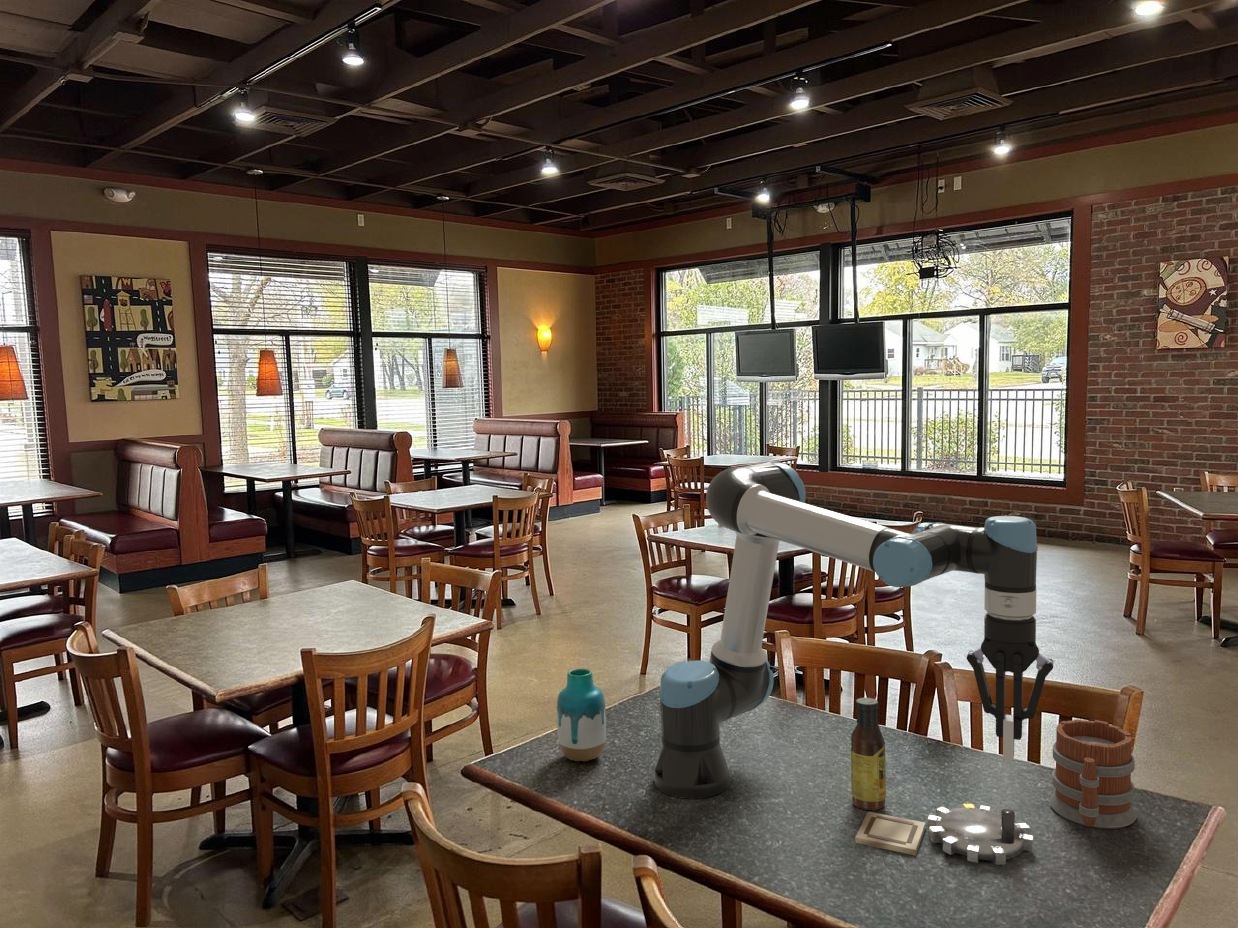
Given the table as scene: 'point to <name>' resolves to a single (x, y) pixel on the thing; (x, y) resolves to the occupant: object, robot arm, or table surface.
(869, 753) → the sauce bottle
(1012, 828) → the sprocket
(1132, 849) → the table surface
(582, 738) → the vase
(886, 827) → the marked pad
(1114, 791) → the mug
